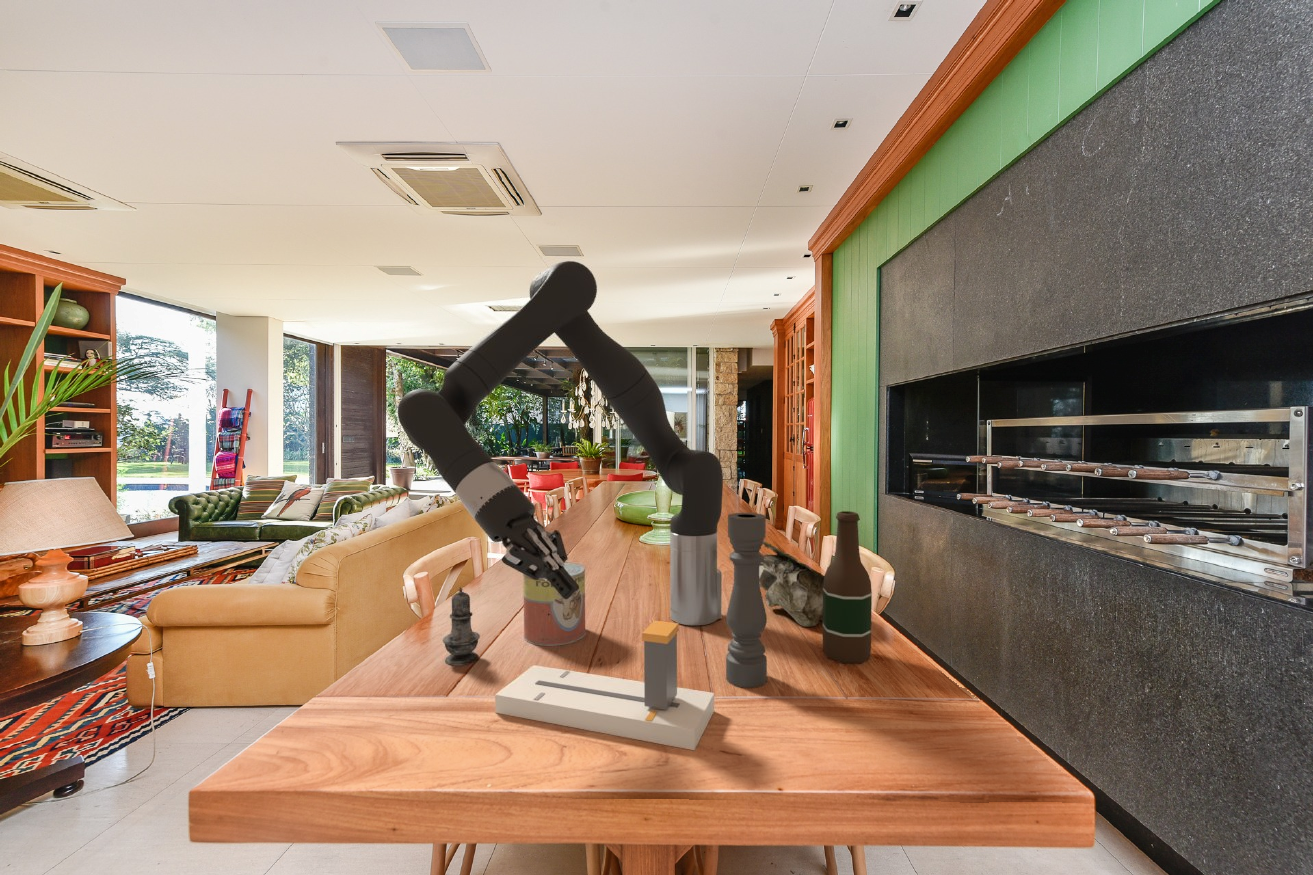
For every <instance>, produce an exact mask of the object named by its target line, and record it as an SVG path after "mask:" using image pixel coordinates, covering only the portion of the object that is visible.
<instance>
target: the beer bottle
mask: <svg viewBox="0 0 1313 875" xmlns="http://www.w3.org/2000/svg"><path fill="white" fill-rule="evenodd" d="M859 515H860V514H859V513H858V512H855V511H849V510H845V511H844V510H843V511H839V512H836V516H835V519H836V520H837V527H836V540H835V552H834V557H833V560H832V561H831V563H830V564H829V565H828V567H827V568H826V571H825V573H824V574H823V575H824V582H823V620H822V650H823V653H824V654H825V655H826V656H827V659H829V660H832V661H834V662H838V663H841V664H863V663H864V662H867V661H868V660H869V659H870V658H871V651H872V650H871V649H872V602H873V601H872V598H873V597H872V594H873V592H872V591H873V590H872V581H871V578H870V575H869V573H868V571H867V569H866V568H865V566H864V565H863V563H862V560H861V559H862V558H861V555H860V543H859V542H860V539H859V525H858V524H859V521H860V516H859Z"/></svg>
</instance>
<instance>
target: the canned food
mask: <svg viewBox="0 0 1313 875" xmlns="http://www.w3.org/2000/svg"><path fill="white" fill-rule="evenodd" d="M564 564H565V565H564V569H565V570H566V571H567V572H568V573H569V575H570V576H571V577H572V578H573V579H574V580H575V582H576V583H577V584H578V585H579V590H578V591H577V592H576V593H575V594H574V595H573V596H571V597H570V598H568V599H564V598H563V597H562V596H561V595H560V594H559V593H558V591H557V590H556V589H555V588H554V587H553V585H552V584H551V583H550V582H549V581H548V580H547V581H546V580H544V579H543V578H539V579H538V580H534V579H532V578H530V577H529V576H527V575H525V574H523V573H522V578H523V579H522V580H523V581H522V582H523V584H522V585H523V639H524V640H525V641H526V642H527V643H529V644H532V645H536V646H540V647H541V646H542V647H557V646H565V645H569V644H572V643H573V644H574V643H575V642H578V641H580V640H582V639H583V638H584V637H585V636H586V633H587V630H586V574H585V573H586V567H585V566H584V565H582V564H580V563H576V562H569V561H568V562H567V561H565V563H564Z"/></svg>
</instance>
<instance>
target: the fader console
mask: <svg viewBox="0 0 1313 875" xmlns="http://www.w3.org/2000/svg"><path fill="white" fill-rule="evenodd" d="M494 701H495V702H494V704H495V705H494V709H495V714H500V715H504V716H512V717H517V718H521V719H526V720H532V721H538V722H541V723H549V724H553V725H559V726H565V727H569V728H574V729H581V730H585V731H590V732H595V733H600V734H601V733H602V734H606V735H612V736H615V737H616V736H617V737H622V738H626V739H633V740H638V741H643V742H649V743H655V744H658V745H665V746H670V747H675V748H680V749H685V750H691V751H696V748H697V747H698V744H699V742H700V741H701V738H702V735H703V734H704V732H705V730H706V728H707V726H708V724H709V723H710V720H711V719H712V717H713V714H714V713H715V693H714V692H710V691H703V690H696V689H691V688H685V687H679V686H677V695H676V697H675V698H674V700H673V701H672V703H671V704H670V706H669V707H668V709H667V710H665V709H659V708H653V707H647V706H645V692H644V681H640V680H639V681H638V680H631V679H627V678H626V679H625V678H619V677H612V676H606V675H600V674H594V673H593V674H592V673H587V672H581V671H573V670H568V669H561V668H555V667H554V668H553V667H547V666H543V665H542V666H541V665H535V664H534V665H532V666H531V667H529V668H528V669H526V671H524V672H522V673H521V674H520V675H519V676H517V677H516V678H515V679H514V680H513V681H511V682H510V683H509V684H507V685H505V687H503V688H502V689H500V690H499V691H497V693H496V694H494Z"/></svg>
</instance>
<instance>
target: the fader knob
mask: <svg viewBox="0 0 1313 875" xmlns="http://www.w3.org/2000/svg"><path fill="white" fill-rule="evenodd" d="M679 624H680V623H677V622H669V621H660V620H654V621H652V623H651V624H649V625H648V626H647V627H646V628H645V629H644V630H643V632H642V633H641V640H642V642H643V644H644V645H643V646H644V648H643V650H644V651H643V654H644V655H643V656H644V658H643V659H644V663H643V664H644V665H643V666H644V668H643V669H644V673H643V674H644V676H643V677H644V680H643V682H644V692H645V706H647V707H653V708H659V709H665V710H667V709H668V707H669V706H670V704H671V703H672V701H673V700H674V698H675V697H676V695H677V687H678V633H679V631H680V630H679V629H680V627H679Z"/></svg>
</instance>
